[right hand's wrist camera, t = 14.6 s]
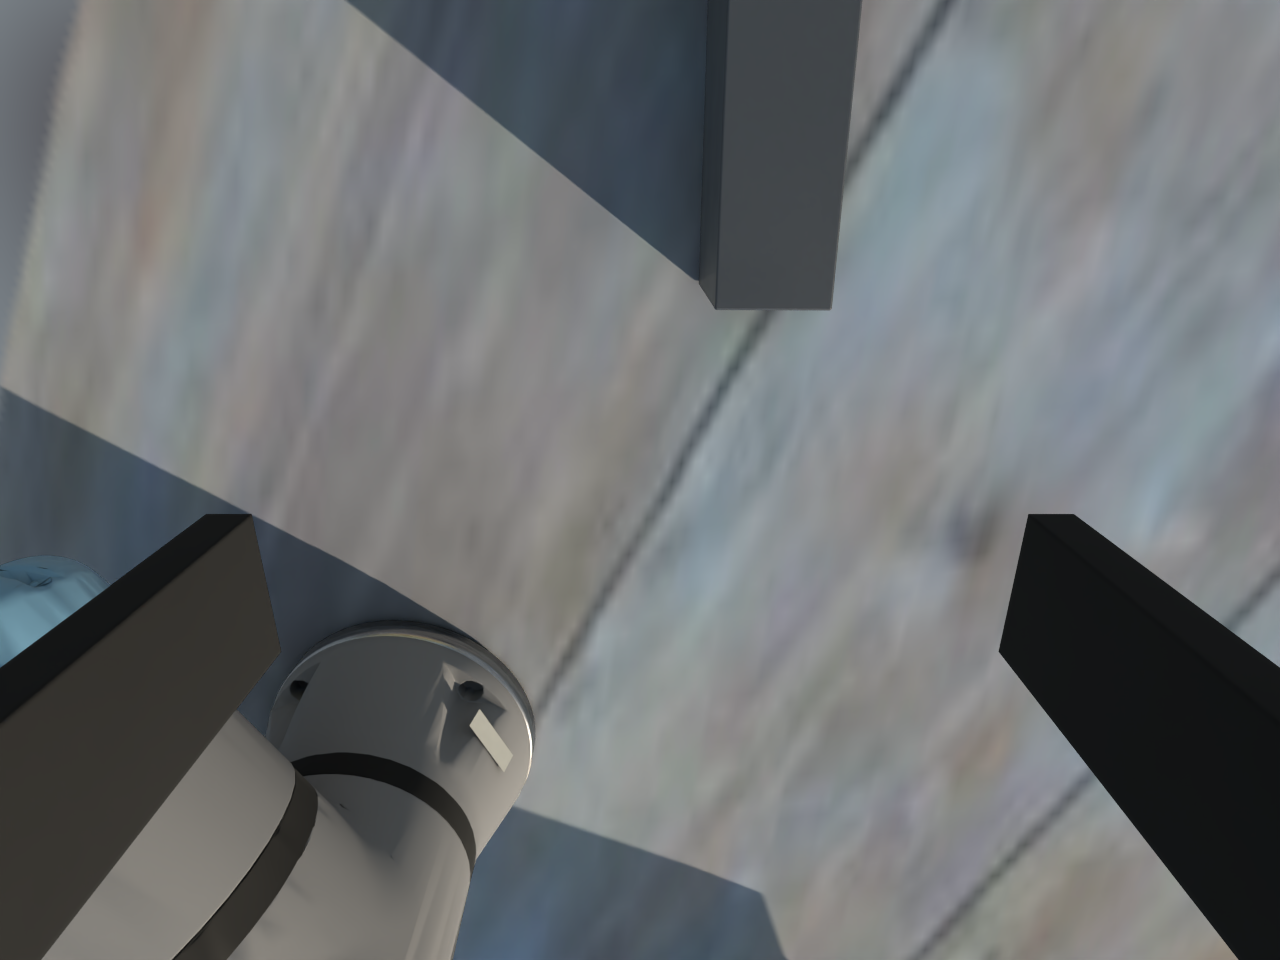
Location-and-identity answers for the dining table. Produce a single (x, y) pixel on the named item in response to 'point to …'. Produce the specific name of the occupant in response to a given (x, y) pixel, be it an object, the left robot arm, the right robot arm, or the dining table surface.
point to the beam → (775, 150)
